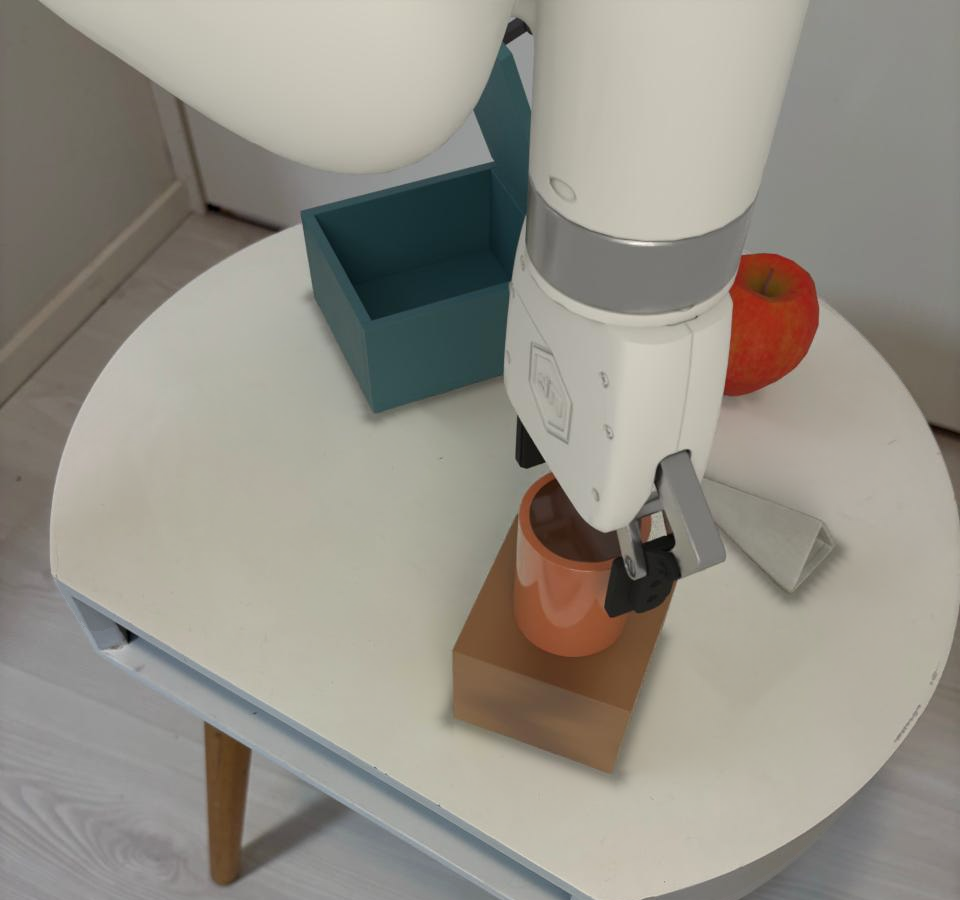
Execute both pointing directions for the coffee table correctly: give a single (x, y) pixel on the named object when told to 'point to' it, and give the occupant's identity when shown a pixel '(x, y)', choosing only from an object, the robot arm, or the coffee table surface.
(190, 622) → the coffee table surface
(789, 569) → the grey triangular spike
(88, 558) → the coffee table surface
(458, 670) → the stand
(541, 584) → the cup
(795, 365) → the apple
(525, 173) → the cool box lid
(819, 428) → the coffee table surface
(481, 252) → the cool box
